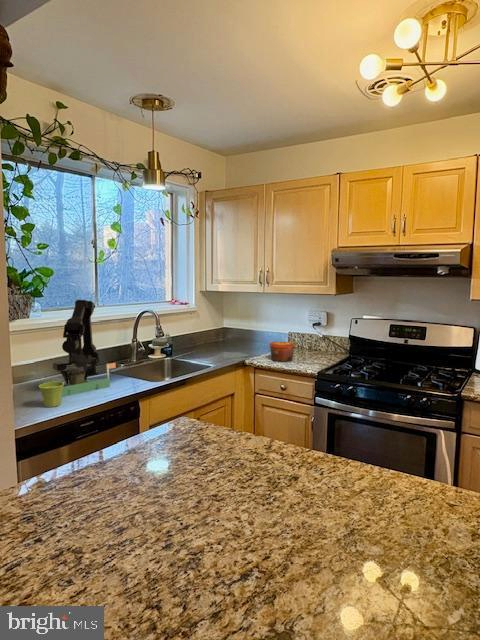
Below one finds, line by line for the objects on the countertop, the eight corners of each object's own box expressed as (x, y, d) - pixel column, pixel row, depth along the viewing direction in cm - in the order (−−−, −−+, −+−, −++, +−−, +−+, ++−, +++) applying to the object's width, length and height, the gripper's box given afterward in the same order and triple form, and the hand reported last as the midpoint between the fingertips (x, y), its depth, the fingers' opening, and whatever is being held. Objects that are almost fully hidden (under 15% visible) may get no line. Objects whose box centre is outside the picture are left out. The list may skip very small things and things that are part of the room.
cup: (64, 390, 191) (63, 373, 190) (77, 386, 198) (76, 369, 197) (75, 392, 188) (75, 375, 187) (88, 388, 194) (88, 371, 193)
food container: (280, 356, 270) (280, 340, 269) (300, 360, 259) (300, 343, 257) (263, 360, 259) (264, 343, 258) (283, 364, 248) (284, 346, 246)
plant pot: (60, 408, 165) (59, 387, 164) (36, 409, 164) (34, 388, 163) (68, 401, 174) (67, 381, 173) (45, 402, 174) (44, 381, 173)
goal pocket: (43, 392, 187) (41, 368, 186) (104, 380, 208) (103, 359, 207) (53, 398, 179) (52, 373, 177) (116, 385, 199) (115, 362, 198)
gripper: (61, 354, 178) (63, 389, 180) (102, 348, 191) (103, 381, 193) (51, 350, 186) (53, 384, 188) (91, 345, 199) (92, 377, 201)
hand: (76, 382), depth 192 cm, fingers open, 8 cm apart
